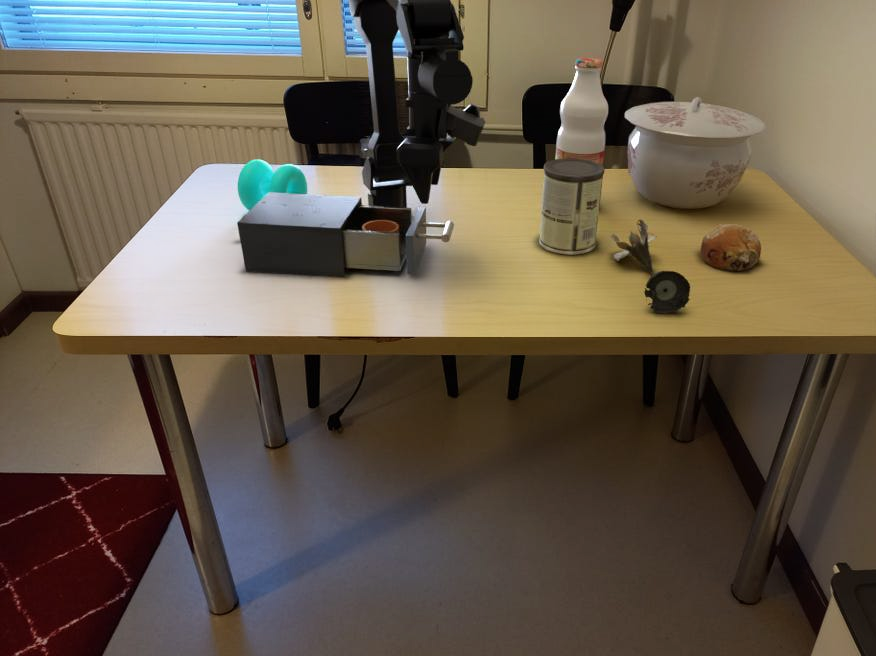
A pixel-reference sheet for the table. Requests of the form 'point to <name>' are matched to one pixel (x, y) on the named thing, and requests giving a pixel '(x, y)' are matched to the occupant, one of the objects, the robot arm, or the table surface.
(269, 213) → the black drawer cabinet
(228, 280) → the table surface
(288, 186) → the donuts
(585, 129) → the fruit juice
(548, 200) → the coffee can
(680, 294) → the artificial flower
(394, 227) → the flower pot
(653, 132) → the chamber pot
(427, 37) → the robot arm
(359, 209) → the drawer
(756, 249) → the bread roll
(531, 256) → the table surface
